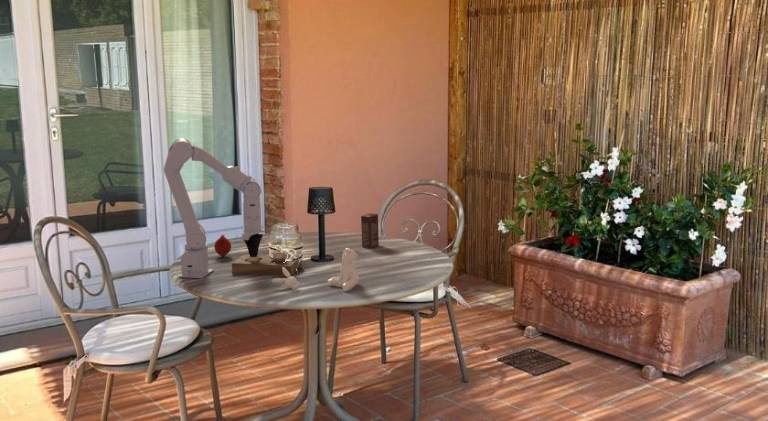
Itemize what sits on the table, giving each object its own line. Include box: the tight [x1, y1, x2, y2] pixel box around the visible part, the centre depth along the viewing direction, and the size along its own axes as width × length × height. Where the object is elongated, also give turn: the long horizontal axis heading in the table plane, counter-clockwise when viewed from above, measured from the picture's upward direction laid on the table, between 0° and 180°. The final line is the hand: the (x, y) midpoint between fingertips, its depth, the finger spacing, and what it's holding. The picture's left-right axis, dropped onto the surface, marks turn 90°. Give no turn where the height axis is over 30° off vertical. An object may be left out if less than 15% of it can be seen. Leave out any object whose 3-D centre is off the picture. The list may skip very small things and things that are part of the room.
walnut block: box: [231, 254, 298, 277], centre depth 259 cm, size 11×20×4 cm, turn 79°
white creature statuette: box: [327, 247, 360, 292], centre depth 241 cm, size 10×9×12 cm
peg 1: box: [247, 254, 260, 262], centre depth 259 cm, size 4×4×3 cm
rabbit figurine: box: [271, 267, 300, 290], centre depth 240 cm, size 6×4×8 cm
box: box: [360, 213, 380, 249], centre depth 290 cm, size 6×4×12 cm
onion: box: [214, 234, 232, 258], centre depth 275 cm, size 6×6×8 cm
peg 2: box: [272, 250, 286, 263], centre depth 257 cm, size 4×4×3 cm
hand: (253, 256), depth 259 cm, fingers closed, pressing on peg 1
